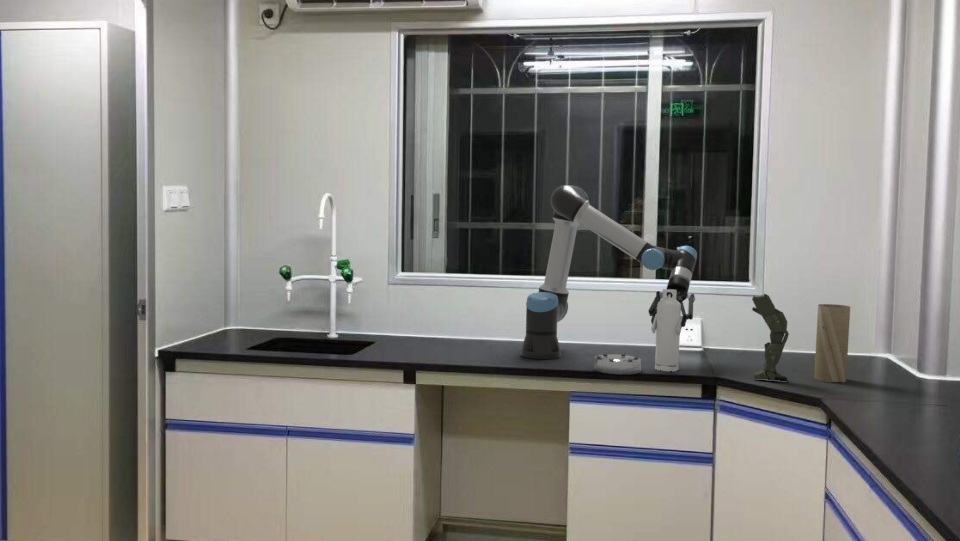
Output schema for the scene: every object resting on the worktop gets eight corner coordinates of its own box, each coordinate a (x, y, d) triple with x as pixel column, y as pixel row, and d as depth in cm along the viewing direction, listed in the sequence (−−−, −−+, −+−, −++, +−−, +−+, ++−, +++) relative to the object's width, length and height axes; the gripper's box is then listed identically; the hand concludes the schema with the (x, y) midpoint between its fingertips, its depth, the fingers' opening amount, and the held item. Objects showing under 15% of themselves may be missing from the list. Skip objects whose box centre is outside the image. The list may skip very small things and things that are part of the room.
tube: (843, 384, 275) (847, 308, 273) (811, 380, 280) (815, 306, 278) (848, 379, 283) (852, 305, 282) (817, 375, 289) (821, 303, 287)
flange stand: (598, 374, 282) (598, 360, 282) (590, 365, 298) (590, 351, 298) (645, 374, 283) (645, 360, 283) (634, 365, 299) (635, 352, 299)
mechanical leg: (799, 377, 279) (780, 289, 279) (799, 382, 272) (780, 291, 272) (756, 383, 284) (738, 297, 284) (756, 388, 277) (737, 299, 277)
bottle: (680, 368, 296) (683, 289, 294) (675, 372, 289) (678, 291, 286) (657, 366, 299) (660, 288, 297) (652, 369, 292) (655, 290, 290)
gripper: (709, 291, 300) (697, 341, 288) (652, 287, 310) (638, 335, 297) (707, 277, 295) (694, 327, 282) (649, 273, 305) (634, 322, 292)
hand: (665, 331), depth 290 cm, fingers closed on bottle, 8 cm apart
